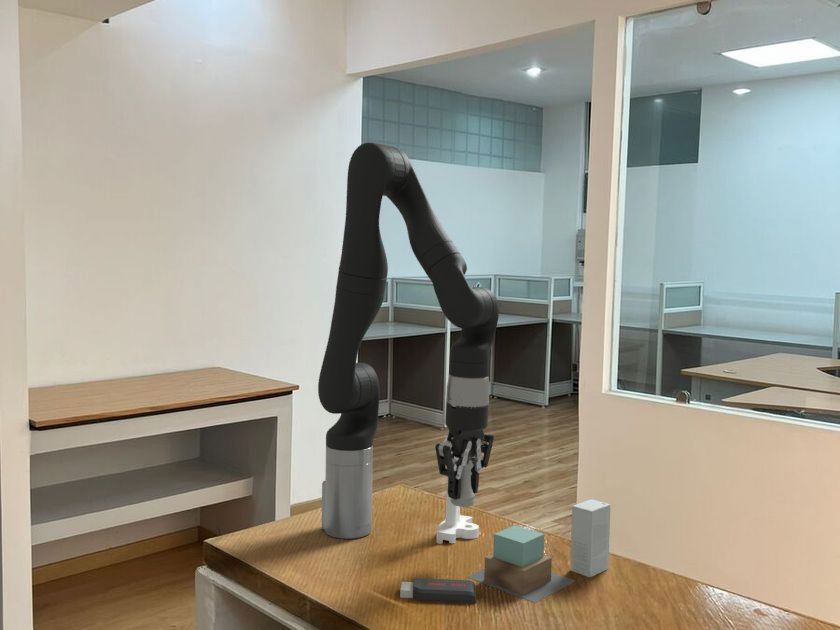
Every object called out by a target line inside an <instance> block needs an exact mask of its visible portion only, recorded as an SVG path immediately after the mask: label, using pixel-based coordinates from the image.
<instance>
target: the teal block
mask: <svg viewBox="0 0 840 630" xmlns="http://www.w3.org/2000/svg"><path fill="white" fill-rule="evenodd" d="M492 547H493V550H492V551H493V553H492V554H493V557H494V558H497V559H500V560H503V561H506V562H509V563H512V564H514V565H517V566H520V567H524V566H527V565H529V564H531V563H533V562H535V561H537V560H539V559H541V558H543V555H545V553H544V550H545V548H544V547H545V534H544V533H541V532H538V531H534V530H532V529H528V528H525V527H523V526H518V525H513V526H510V527H508V528H505V529H502V530H500V531H498V532H495V533H493V546H492Z"/></svg>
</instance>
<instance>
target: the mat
mask: <svg viewBox="0 0 840 630" xmlns="http://www.w3.org/2000/svg"><path fill="white" fill-rule="evenodd" d="M466 578H468V579H471V580H472V581H476V582H478V583H482V584H483V585H487V586H489V587H492V588H495V589H497V590H500V591H502V592H504V593H507V594H510V595H513V596H515V597H518V598H521V599H523V600H526V601H529V602H531V603H534V604H536V603H538V602H540V601H542V600H544V599H545V598H548V597H549V596H551V595H553V594H555V593H557V592H558V591H560V590H562V589H564V588H566V587H568V586H569V585H572V584H573V583H575V582H576V580H574V579H572V578H569V577H566V576H564V575H560V574H557V573H555V572H552V571H551V581H549V582H547V583H545V584H544V585H542V586H540V587H538V588H536V589H534V590H532V591H530V592H528V593H526V594H524V595H522V594H519V593H517V592H514V591H511V590H509V589H506V588H503V587H501V586H498V585H495V584H493V583H490V582H487V581H485V580H484V568H482V569H480V570H478V571H476V572H474V573H471V574H470V575H466Z"/></svg>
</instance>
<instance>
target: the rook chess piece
mask: <svg viewBox="0 0 840 630" xmlns="http://www.w3.org/2000/svg"><path fill="white" fill-rule="evenodd" d="M458 460H460V458H459V459H458ZM472 462H473V461H472V459H470V458H468V460H467V462H466V465H465V466H464V467H463V469H462V473H461V477H460V479H461V494H460V499H457V500H455V499H450V500H451V503H452V504H453V505H455V506H459V507H460V508H468V507H472V506H474V504H475V503H476V500H475V498H476V495H475V494H474V493H473V490H472V488H471V475H472V473H471V469H472V467H473V466H474V465H473V463H472ZM455 465H456V464H455ZM456 467H457V465H456Z"/></svg>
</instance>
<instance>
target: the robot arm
mask: <svg viewBox="0 0 840 630" xmlns="http://www.w3.org/2000/svg"><path fill="white" fill-rule="evenodd" d="M416 172H417V171H415V168H414V166H413V164H412V162H411V161H410V159H409V157H408V155H407V154H406V153H405V152H404V151H403V150H401V149H399V148H398V147H395V146H390V145H386V144H381V143H375V142H363V143H362V144H360V145H359V146H357V147H356V148H355V149H354V151H353V152H352V154H351V157H350V159H349V162H348V168H347V179H346V203H345V204H346V207H345V220H344V221H345V222H344V228H343V229H344V231H343V239H342V247H341V255H340V262H339V267H338V273H337V281H336V286H335V297H334V298H335V299H334V304H333V305H334V306H333V311H332V315H331V316H332V317H331V321H330V328H329V334H328V338H327V339H328V340H327V343H326V347H325V351H324V356H323V360H322V365H321V369H320V373H319V377H318V384H317V395H318V400H319V402H320V404H321V406H322V408H323V409H324V410H325V411H326V412H327V413H329V414H333V415H334V414H335V415H336V414H337V415H338V414H340V416H339V418H338V420H337V421H336V422H335V423H334V424H333V425H332V426H331V427H330V428H329V429H328V430H327V431H326V434H325V477H324V478H325V479H324V480H323V481H322V483H321V529H322V530H323V531H324V533H325V534H326V535H328V536H329V537H332V538H338V539H346V540H347V539H359V538H362V537H365V536H369V534H370V533H371V532H372V520H373V519H372V518H373V517H372V515H373V514H372V513H373V470H374V469H373V468H374V467H373V463H374V462H373V461H374V460H373V457H374V446H373V445H374V437H375V435H376V432H377V429H378V426H379V411H380V410H379V408H380V390H381V389H380V383H379V378H378V377H379V376H378V375H377V373H376V371H375V370H374V368H373V366H371V365H370V364H368V363H366V362H357V359H358V353H359V349H360V347H361V345H362V344H361V343H362V341H363V339H364V337H365V335H366V334H367V332H368V330H369V329H370V327H371V325H372V323H373V322H374V320H375V318H376V317H377V315H378V313H379V311H380V310H381V308H382V305H383V303H384V298H385V294H386V293H385V292H386V287H387V282H388V281H387V280H388V274H389V273H388V272H389V271H388V270H389V265H388V259H387V258H388V257H387V253H386V250H385V247H384V244H383V240H382V236H381V231H380V215H381V208H382V200H383V197H387V198H388V200H390V202H392V204H393V206H395V207H396V209H397V210H398V211H399V213H400V214H401V216H402V218H403V221H404V223H405V226H406V230H407V236H408V240H409V245H410V249H412V250H411V251H412V252H413V254H414V257H415V258H416V260H417V261H418V263H419V265H420V266H421V267H422V269H423V271H424V273H425V274H426V276H427V277H428V279H429V280H430V281H431V282H432V286H433V291H434V293H435V296H436V299H437V301H438V303H439V306H440V309H441V311H442V313H443V315H444V316H445V318H446V319H447V320H448V321H449V322H450V324H452V325H453V326H455V327H456V328H458V329H461V330H460V335H459V338H458V339H457V340H456V341H454V343H452V345H451V347H450V351H449V361H448V362H449V364H448V379H447V382H446V383H447V384H446V398H445V419H444V424H445V426H446V427H447V429H448V434H447V436H446V438H447V441H446V442H444V441H443V442H442V443H436V444H435V447H434V448H435V453H436V460H437V466H438V470H439V471H438V472H439V475H441V476H445V477H447V483H448V496H449V497H450V498H452V499H455V500H457V499H460V494H461V479H460V477H461V473H462V469H463V467H464V466H465V465H466V462H467V460H468V458H470V459H472V463H473V465H474V466H473V467H472V469H471V473H472V475H471V488H472V490H473V493H474V495H475V494H477V493H478V492H479V491H478V490H479V483H480V473H481V472H482V469H483V468H484V469H486V468H487V467H488V465H489V461H490V457H491V452H492V449H493V444H494V439H495V436H494V435H492V434H489V433H485V432H484V430H485V429H487V428H488V424H489V408H490V407H489V406H490V379H489V378H490V377H489V376H490V359H491V358H490V355H491V354H490V352H491V349H492V345H493V343H494V340H495V335H496V330H497V327H498V323H499V315H500V310H499V309H500V308H499V302H498V298H497V296H496V294H494V292H493V291H492V290H490V289H489V288H487V287H484V286H483V287H482V286H477V287H476V286H475V287H473V286H470V284H469V282H468V279H466V276H465V275H466V273H467V270H468V267H467V263H466V260H465V259H464V257H463V255H462V254H461V252H460V251H459V248H457V247H456V245H455V243H454V242H453V240H452V239H451V237H450V236H449V234H448V233H447V231H446V230H445V228H444V227H443V225H442V223H441V222H440V220H439V218H438V217H437V215H436V213H435V211H434V209H433V207H432V205H431V203H430V200H429V199H428V197H427V195H426V193H425V191H424V188H423V187H422V183H421V182H420V180H419V177H418V175H417V173H416ZM454 456H455V457H456V458H460V460H456V459H455V458H454ZM455 464H456V465H457V467H456V471H454V465H455Z"/></svg>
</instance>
